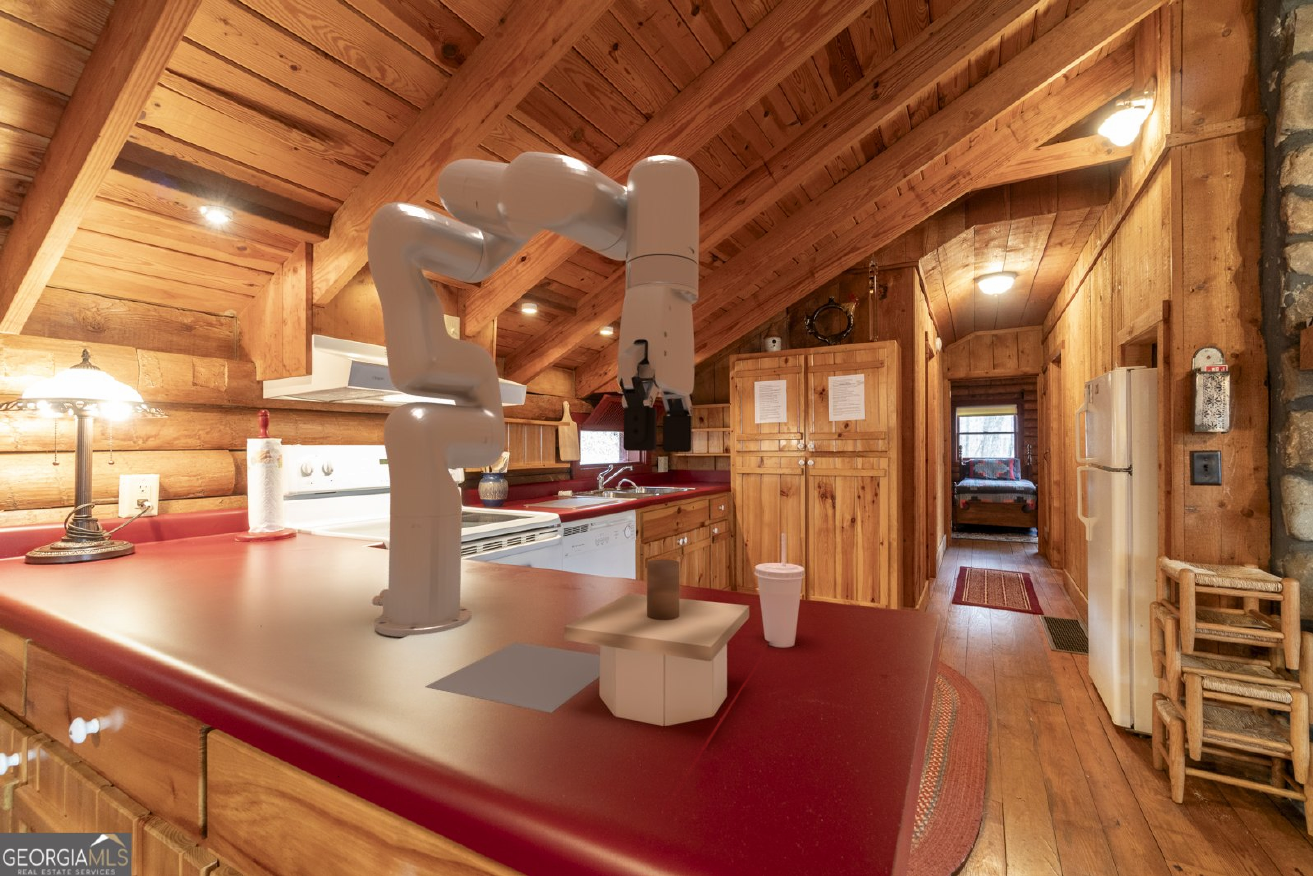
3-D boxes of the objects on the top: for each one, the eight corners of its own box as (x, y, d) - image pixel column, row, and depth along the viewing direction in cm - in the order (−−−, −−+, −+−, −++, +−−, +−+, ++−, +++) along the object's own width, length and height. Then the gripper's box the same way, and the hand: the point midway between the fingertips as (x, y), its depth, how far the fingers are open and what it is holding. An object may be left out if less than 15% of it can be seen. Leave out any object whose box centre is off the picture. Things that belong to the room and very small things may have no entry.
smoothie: (807, 652, 68) (806, 537, 69) (753, 649, 70) (753, 536, 70) (803, 636, 75) (803, 531, 75) (755, 633, 76) (754, 530, 76)
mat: (424, 691, 56) (424, 686, 57) (515, 646, 70) (515, 642, 70) (551, 718, 51) (551, 712, 51) (622, 663, 65) (622, 658, 65)
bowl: (581, 714, 52) (582, 638, 52) (634, 671, 62) (634, 607, 63) (701, 739, 47) (701, 655, 47) (735, 687, 58) (735, 619, 58)
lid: (564, 640, 51) (564, 569, 51) (628, 603, 64) (629, 547, 64) (710, 661, 46) (710, 583, 46) (749, 617, 59) (749, 556, 59)
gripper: (660, 309, 67) (658, 452, 66) (588, 262, 51) (584, 449, 50) (720, 303, 64) (719, 452, 63) (663, 251, 48) (661, 450, 48)
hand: (659, 451), depth 57 cm, fingers open, 9 cm apart
